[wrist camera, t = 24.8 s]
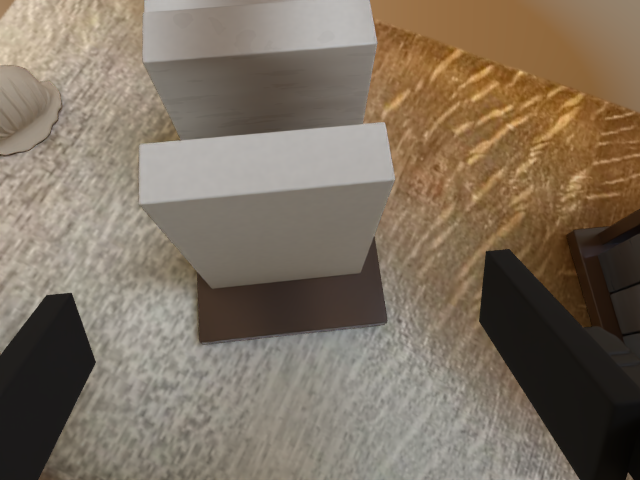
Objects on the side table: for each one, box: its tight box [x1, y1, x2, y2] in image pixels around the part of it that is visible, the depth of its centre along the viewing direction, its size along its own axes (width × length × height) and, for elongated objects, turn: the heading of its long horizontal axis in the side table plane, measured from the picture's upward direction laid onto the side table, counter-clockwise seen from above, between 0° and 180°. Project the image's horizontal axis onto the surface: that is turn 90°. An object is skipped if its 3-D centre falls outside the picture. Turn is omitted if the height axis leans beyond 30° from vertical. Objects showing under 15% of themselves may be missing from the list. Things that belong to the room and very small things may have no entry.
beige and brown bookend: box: [142, 0, 387, 344], centre depth 25 cm, size 11×15×14 cm
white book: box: [138, 122, 395, 289], centre depth 24 cm, size 9×2×13 cm, turn 96°
